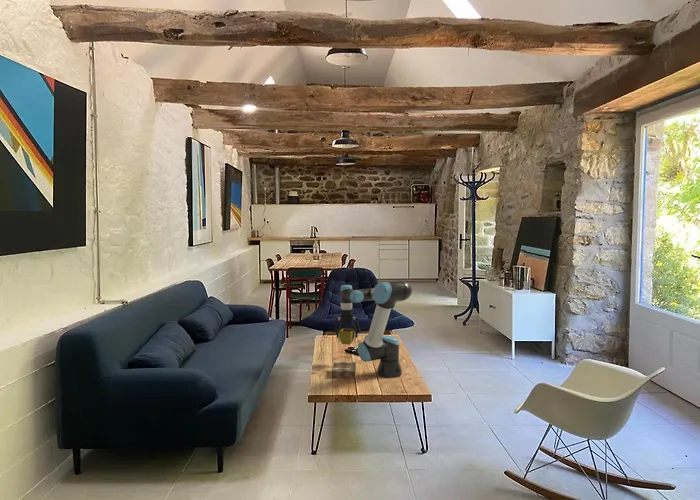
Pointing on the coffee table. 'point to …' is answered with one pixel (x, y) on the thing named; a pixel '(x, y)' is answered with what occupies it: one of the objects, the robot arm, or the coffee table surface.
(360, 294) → the robot arm
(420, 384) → the coffee table surface
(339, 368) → the display stand
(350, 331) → the flower pot
